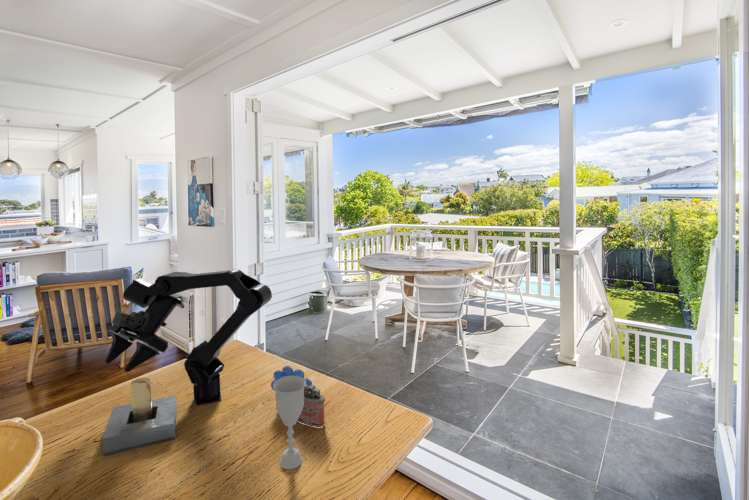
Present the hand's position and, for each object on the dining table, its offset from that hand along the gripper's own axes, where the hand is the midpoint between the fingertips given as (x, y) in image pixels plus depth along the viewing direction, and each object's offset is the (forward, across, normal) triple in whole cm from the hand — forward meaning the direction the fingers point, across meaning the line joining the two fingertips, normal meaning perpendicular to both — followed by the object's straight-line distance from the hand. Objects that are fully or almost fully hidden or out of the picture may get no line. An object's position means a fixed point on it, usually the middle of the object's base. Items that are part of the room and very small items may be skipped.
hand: (116, 367), depth 96 cm
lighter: (-7, +44, +26) cm, 52 cm away
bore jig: (+10, +11, +10) cm, 17 cm away
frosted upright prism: (+9, +11, +9) cm, 17 cm away
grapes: (-8, +36, +28) cm, 46 cm away
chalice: (+2, +49, +17) cm, 52 cm away
